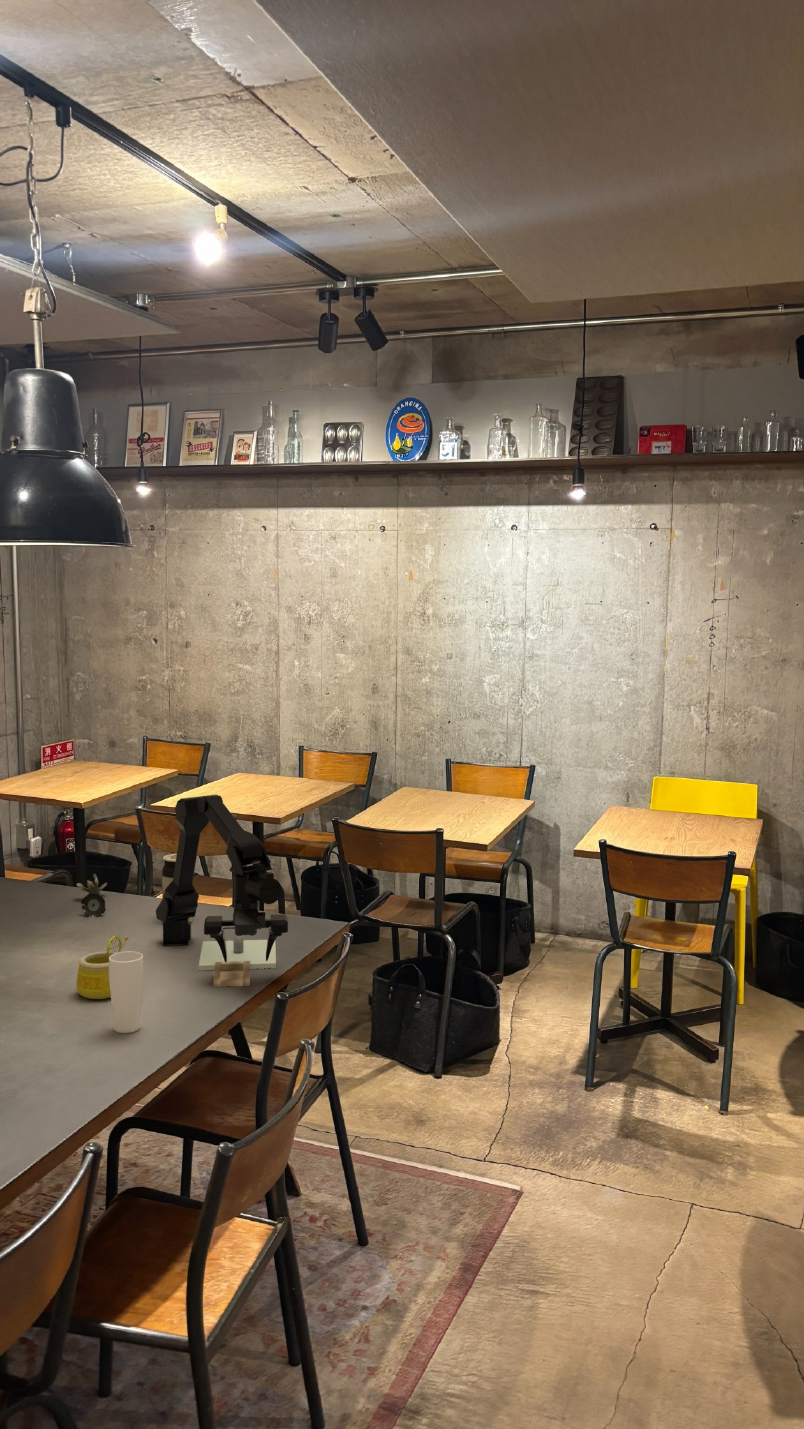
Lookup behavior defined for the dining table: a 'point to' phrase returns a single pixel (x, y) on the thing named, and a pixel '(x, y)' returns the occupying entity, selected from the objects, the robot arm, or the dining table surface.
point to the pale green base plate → (237, 953)
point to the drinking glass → (126, 990)
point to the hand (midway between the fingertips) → (246, 961)
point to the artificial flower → (93, 898)
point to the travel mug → (169, 873)
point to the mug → (96, 972)
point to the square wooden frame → (231, 974)
